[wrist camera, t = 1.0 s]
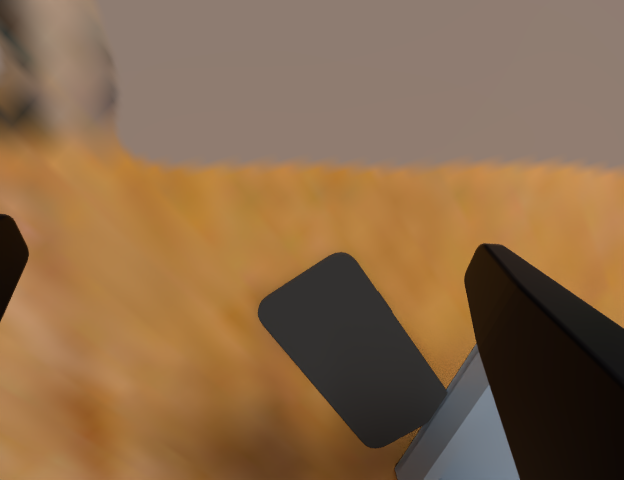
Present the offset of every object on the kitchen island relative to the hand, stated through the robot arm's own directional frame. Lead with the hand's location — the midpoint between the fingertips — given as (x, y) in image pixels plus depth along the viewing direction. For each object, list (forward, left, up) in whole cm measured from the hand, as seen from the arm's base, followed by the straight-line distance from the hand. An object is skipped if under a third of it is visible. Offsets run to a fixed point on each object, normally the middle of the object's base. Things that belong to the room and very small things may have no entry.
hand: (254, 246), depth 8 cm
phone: (-10, -10, -16) cm, 22 cm away
